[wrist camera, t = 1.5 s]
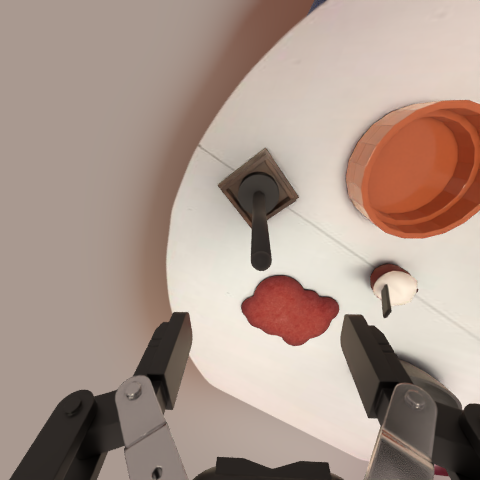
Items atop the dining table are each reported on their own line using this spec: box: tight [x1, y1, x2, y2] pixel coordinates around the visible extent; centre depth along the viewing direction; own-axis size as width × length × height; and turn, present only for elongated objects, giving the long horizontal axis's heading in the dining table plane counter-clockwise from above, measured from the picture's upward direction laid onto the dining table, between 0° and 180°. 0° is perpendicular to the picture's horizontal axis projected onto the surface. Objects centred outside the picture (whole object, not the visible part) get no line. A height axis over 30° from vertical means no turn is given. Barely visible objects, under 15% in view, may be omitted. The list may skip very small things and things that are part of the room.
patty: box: [241, 276, 339, 346], centre depth 48 cm, size 18×14×2 cm
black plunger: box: [238, 172, 279, 271], centre depth 28 cm, size 6×6×22 cm
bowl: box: [399, 359, 462, 410], centre depth 52 cm, size 12×22×6 cm, turn 62°
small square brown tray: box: [218, 148, 299, 229], centre depth 38 cm, size 9×9×3 cm
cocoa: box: [370, 264, 418, 318], centre depth 39 cm, size 10×6×12 cm, turn 53°
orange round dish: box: [346, 100, 480, 238], centre depth 33 cm, size 17×17×6 cm
